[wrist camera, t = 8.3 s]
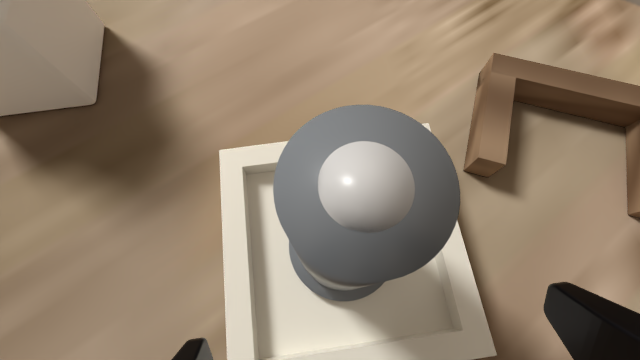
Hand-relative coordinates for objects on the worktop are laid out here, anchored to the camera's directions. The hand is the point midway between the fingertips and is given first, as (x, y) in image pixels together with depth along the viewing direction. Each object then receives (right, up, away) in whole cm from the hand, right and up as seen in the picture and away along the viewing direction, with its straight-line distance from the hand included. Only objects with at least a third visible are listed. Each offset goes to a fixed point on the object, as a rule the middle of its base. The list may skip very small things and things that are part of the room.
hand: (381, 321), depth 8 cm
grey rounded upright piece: (0, 0, +9) cm, 9 cm away
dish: (0, 0, +10) cm, 10 cm away
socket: (+13, +6, +12) cm, 19 cm away
